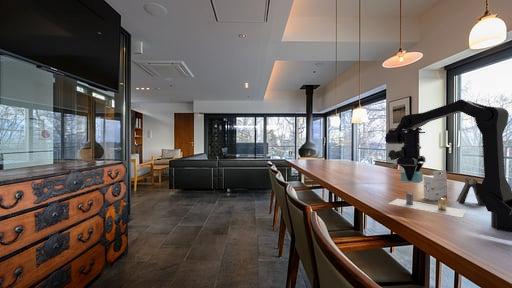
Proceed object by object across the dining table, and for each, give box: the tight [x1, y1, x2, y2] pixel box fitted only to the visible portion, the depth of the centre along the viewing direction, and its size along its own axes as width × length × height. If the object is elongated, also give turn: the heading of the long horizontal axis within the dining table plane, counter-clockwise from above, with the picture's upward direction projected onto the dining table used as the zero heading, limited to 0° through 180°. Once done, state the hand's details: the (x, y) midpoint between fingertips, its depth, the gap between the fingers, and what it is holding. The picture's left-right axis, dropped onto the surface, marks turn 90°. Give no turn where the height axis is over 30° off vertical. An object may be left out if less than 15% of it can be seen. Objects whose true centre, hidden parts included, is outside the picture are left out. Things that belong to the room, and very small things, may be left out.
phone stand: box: [456, 176, 486, 207], centre depth 95 cm, size 9×6×12 cm, turn 53°
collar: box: [400, 170, 424, 184], centre depth 94 cm, size 6×6×4 cm
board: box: [388, 192, 467, 218], centre depth 91 cm, size 12×24×6 cm, turn 41°
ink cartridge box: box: [423, 169, 448, 201], centre depth 103 cm, size 9×5×15 cm, turn 105°
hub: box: [437, 198, 448, 211], centre depth 87 cm, size 3×3×4 cm
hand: (411, 179), depth 94 cm, fingers closed on collar, 6 cm apart
